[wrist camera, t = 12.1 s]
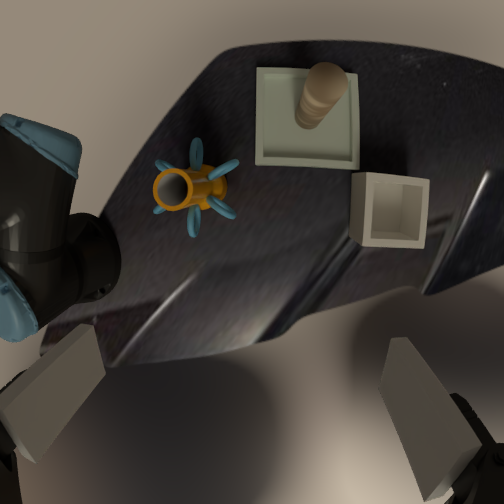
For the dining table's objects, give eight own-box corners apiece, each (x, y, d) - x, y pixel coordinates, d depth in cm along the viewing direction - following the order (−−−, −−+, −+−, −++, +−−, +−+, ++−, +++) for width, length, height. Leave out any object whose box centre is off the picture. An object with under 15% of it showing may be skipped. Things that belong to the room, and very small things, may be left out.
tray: (256, 165, 40) (255, 164, 38) (257, 72, 37) (256, 67, 35) (355, 170, 39) (359, 169, 37) (353, 79, 36) (357, 74, 34)
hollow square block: (348, 235, 42) (362, 246, 35) (351, 173, 39) (366, 172, 33) (403, 238, 41) (423, 248, 34) (407, 179, 39) (429, 179, 32)
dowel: (294, 128, 38) (307, 96, 22) (294, 104, 37) (307, 60, 21) (320, 130, 38) (349, 100, 22) (320, 106, 37) (347, 64, 21)
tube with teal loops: (173, 144, 40) (126, 129, 26) (245, 144, 40) (230, 124, 25) (171, 227, 43) (124, 249, 28) (241, 230, 42) (224, 256, 28)
